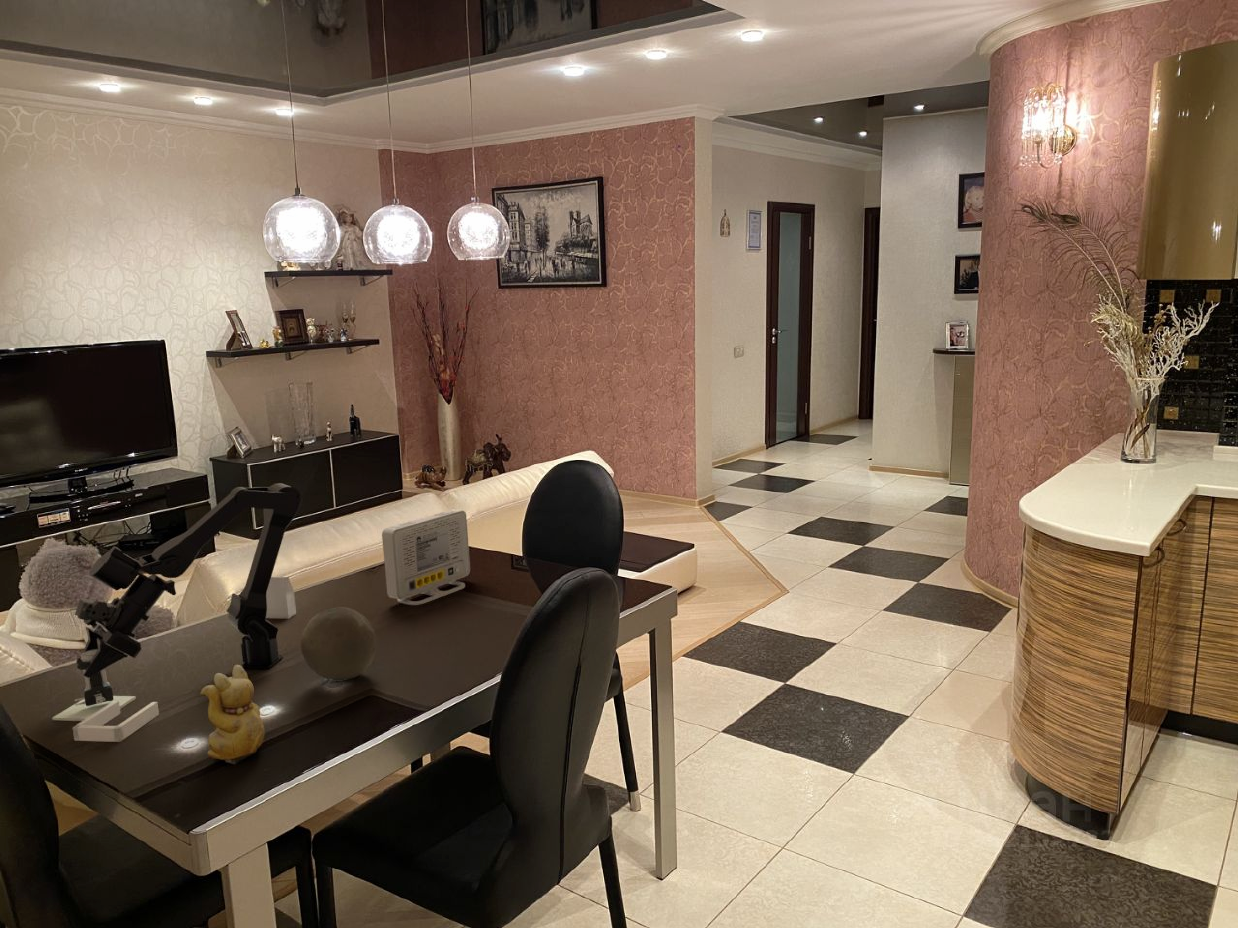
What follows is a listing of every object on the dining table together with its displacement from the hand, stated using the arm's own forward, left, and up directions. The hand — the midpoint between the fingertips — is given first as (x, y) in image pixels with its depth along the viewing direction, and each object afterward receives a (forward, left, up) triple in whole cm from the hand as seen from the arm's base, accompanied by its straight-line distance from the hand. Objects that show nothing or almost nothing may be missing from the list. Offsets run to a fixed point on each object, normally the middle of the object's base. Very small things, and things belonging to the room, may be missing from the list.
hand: (82, 672), depth 175 cm
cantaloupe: (-44, -16, -8) cm, 48 cm away
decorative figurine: (-40, +15, -8) cm, 44 cm away
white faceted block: (-10, -54, -8) cm, 56 cm away
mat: (-1, -1, -8) cm, 8 cm away
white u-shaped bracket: (-11, +6, -8) cm, 15 cm away
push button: (-1, -1, -7) cm, 7 cm away
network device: (-43, -72, -8) cm, 85 cm away
